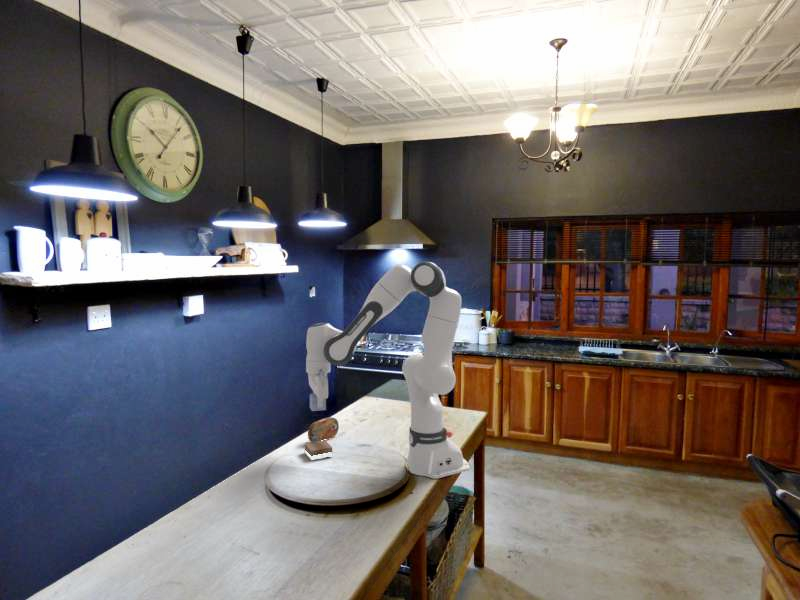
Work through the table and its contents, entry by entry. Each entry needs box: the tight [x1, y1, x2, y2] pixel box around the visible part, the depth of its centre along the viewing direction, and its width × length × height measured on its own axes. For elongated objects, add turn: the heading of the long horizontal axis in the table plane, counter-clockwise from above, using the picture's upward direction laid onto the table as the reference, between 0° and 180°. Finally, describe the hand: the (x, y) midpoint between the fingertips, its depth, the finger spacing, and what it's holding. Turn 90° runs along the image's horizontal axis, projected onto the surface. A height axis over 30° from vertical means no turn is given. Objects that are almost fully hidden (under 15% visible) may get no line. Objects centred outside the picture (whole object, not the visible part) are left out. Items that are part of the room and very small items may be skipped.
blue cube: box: [309, 393, 327, 412], centre depth 177 cm, size 5×5×5 cm
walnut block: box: [304, 440, 333, 456], centre depth 179 cm, size 8×8×4 cm
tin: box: [307, 417, 340, 443], centre depth 194 cm, size 15×3×8 cm, turn 143°
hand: (318, 404), depth 177 cm, fingers closed on blue cube, 5 cm apart
